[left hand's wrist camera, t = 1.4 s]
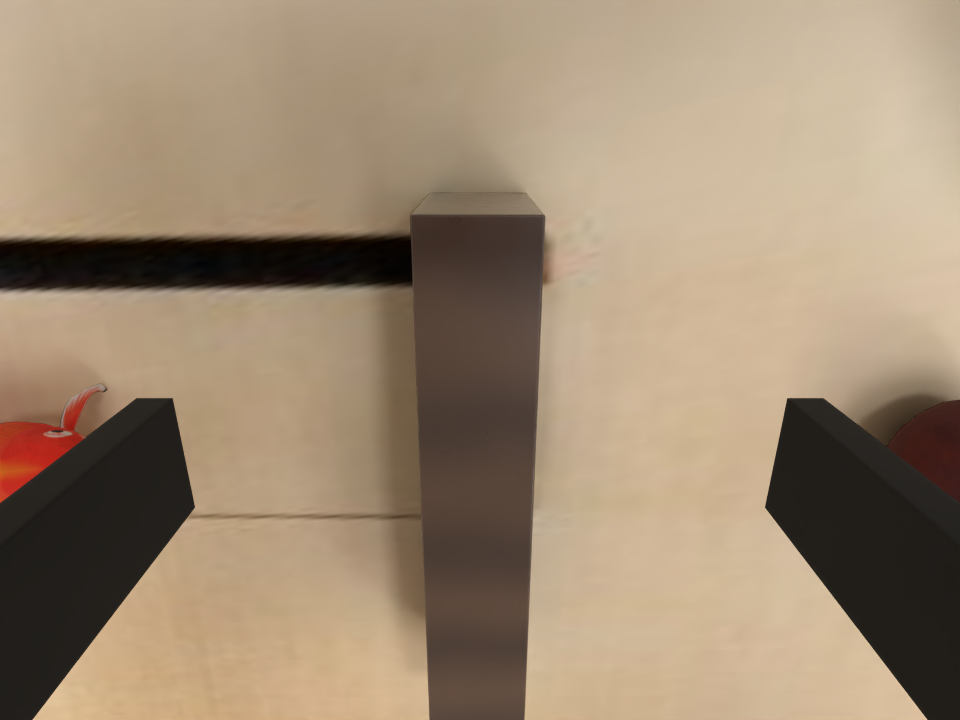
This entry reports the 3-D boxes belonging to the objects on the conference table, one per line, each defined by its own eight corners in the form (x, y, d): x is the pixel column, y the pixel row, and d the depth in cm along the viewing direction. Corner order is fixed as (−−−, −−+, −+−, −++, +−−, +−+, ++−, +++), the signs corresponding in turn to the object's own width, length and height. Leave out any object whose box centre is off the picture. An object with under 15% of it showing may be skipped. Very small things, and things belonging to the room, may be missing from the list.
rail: (428, 192, 27) (409, 214, 19) (527, 192, 27) (545, 214, 19) (440, 630, 36) (430, 758, 29) (513, 630, 36) (522, 758, 29)
